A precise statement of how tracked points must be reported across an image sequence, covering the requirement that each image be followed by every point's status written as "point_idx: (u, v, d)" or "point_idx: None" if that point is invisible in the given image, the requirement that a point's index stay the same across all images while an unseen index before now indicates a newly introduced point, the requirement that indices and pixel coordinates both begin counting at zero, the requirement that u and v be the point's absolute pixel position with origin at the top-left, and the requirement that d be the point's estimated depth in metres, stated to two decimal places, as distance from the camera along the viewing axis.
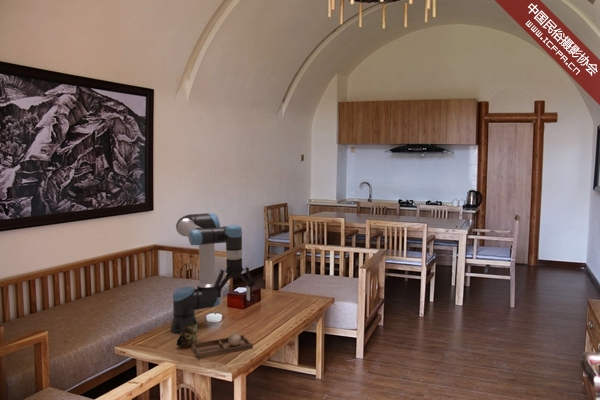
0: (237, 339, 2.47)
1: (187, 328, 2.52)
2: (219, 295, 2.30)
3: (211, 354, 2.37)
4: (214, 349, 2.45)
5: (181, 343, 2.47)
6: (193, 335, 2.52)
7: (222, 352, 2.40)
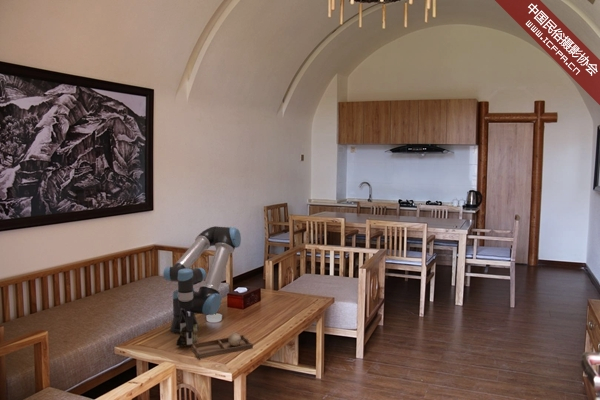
0: (237, 339, 2.47)
1: None
2: None
3: (211, 354, 2.37)
4: (214, 349, 2.45)
5: (181, 343, 2.47)
6: (193, 335, 2.52)
7: (222, 352, 2.40)
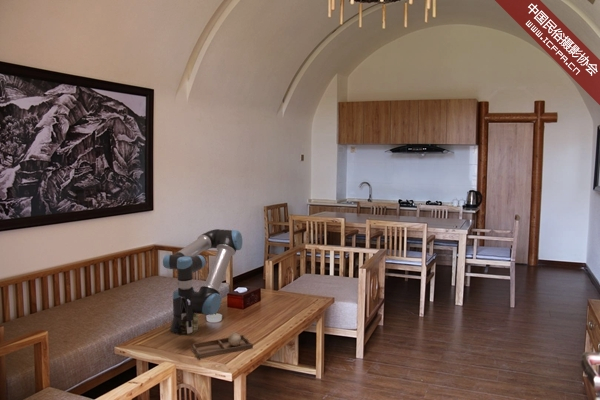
0: (237, 339, 2.47)
1: None
2: (182, 317, 2.57)
3: (211, 354, 2.37)
4: (214, 349, 2.45)
5: (181, 332, 2.47)
6: (194, 324, 2.51)
7: (222, 352, 2.40)
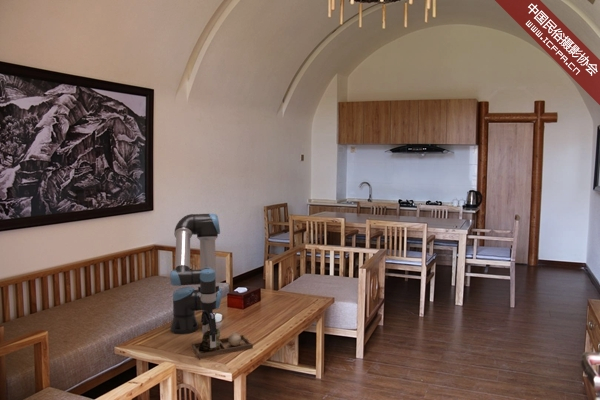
0: (237, 339, 2.47)
1: (210, 333, 2.43)
2: None
3: (211, 354, 2.37)
4: None
5: (203, 348, 2.38)
6: (216, 340, 2.43)
7: (222, 352, 2.40)
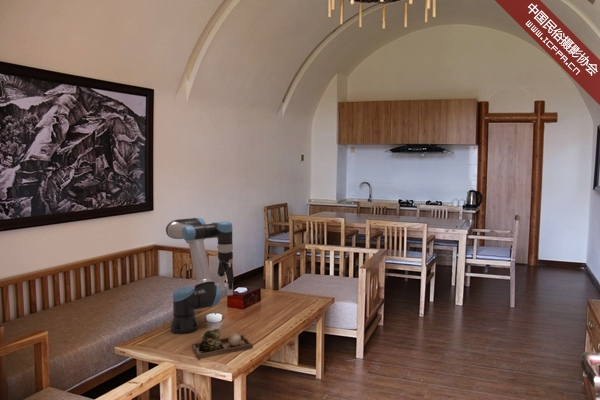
0: (237, 339, 2.47)
1: (210, 333, 2.43)
2: None
3: (211, 354, 2.37)
4: None
5: (203, 348, 2.38)
6: (216, 340, 2.43)
7: (222, 352, 2.40)
